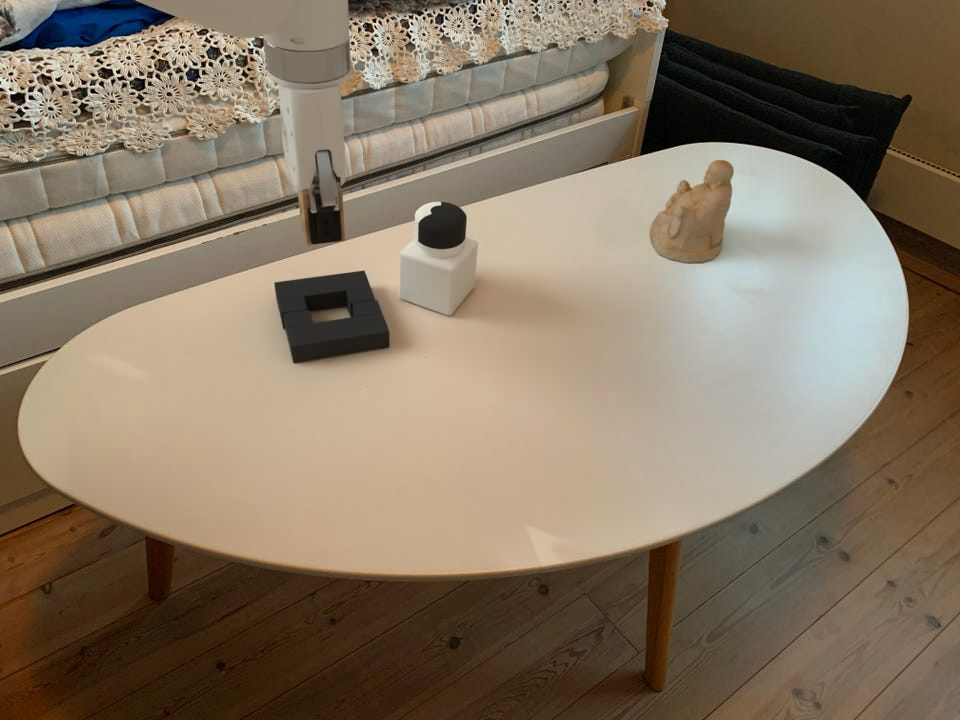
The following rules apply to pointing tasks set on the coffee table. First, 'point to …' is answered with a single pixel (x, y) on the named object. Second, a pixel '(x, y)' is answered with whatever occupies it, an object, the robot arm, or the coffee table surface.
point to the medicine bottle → (438, 259)
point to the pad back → (323, 293)
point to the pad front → (336, 333)
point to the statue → (695, 217)
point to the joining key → (305, 205)
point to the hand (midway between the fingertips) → (322, 227)
